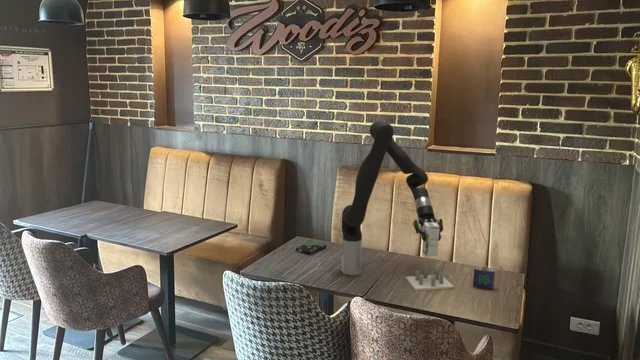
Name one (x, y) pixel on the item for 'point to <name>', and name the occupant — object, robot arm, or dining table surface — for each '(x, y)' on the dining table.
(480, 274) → the flask
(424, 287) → the dock
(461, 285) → the dining table surface
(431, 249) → the syrup box
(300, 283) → the dining table surface
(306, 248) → the disk drive
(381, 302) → the dining table surface
